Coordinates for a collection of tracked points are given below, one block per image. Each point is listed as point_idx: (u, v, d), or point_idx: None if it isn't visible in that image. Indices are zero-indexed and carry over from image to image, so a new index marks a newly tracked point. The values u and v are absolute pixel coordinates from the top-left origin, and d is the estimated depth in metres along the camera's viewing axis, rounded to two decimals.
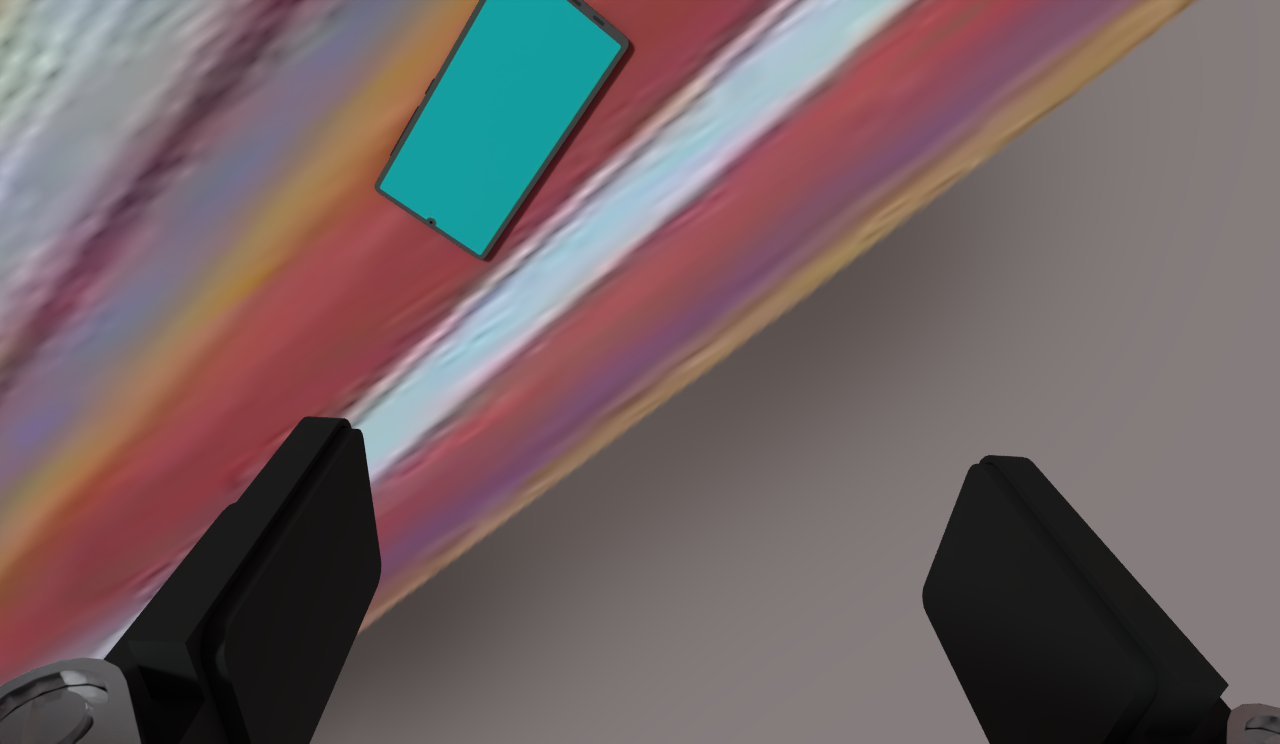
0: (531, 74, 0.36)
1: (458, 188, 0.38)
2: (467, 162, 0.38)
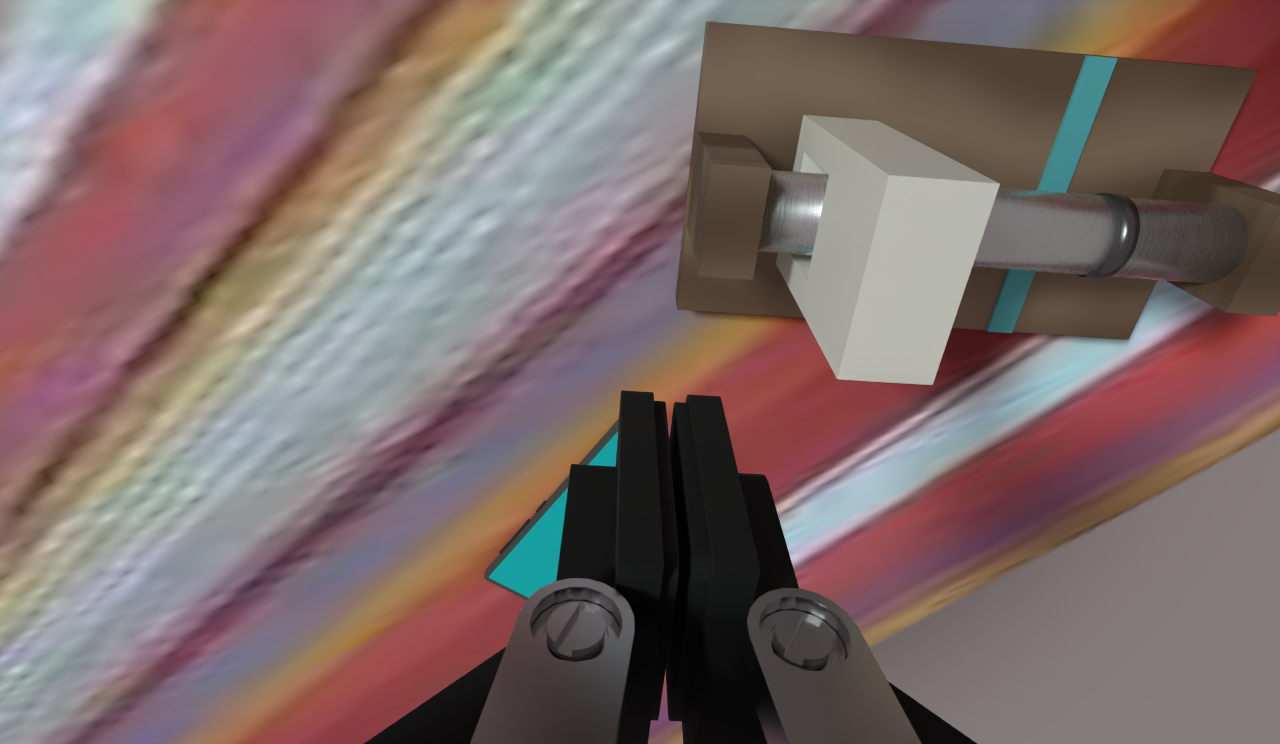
0: None
1: None
2: None
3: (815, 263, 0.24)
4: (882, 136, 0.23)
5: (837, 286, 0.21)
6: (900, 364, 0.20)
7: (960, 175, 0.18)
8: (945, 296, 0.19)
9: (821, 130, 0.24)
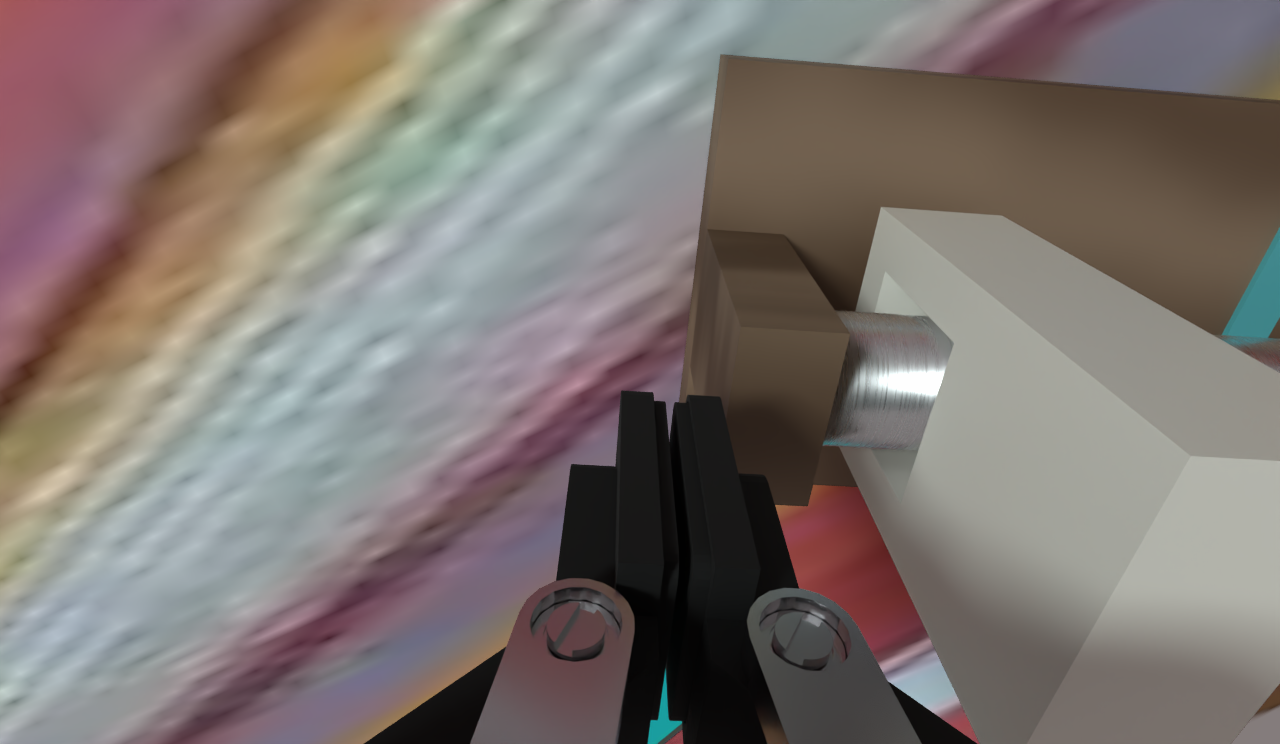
0: None
1: None
2: None
3: (922, 488, 0.13)
4: (1044, 266, 0.13)
5: (992, 587, 0.11)
6: None
7: None
8: (1257, 665, 0.09)
9: (928, 250, 0.14)
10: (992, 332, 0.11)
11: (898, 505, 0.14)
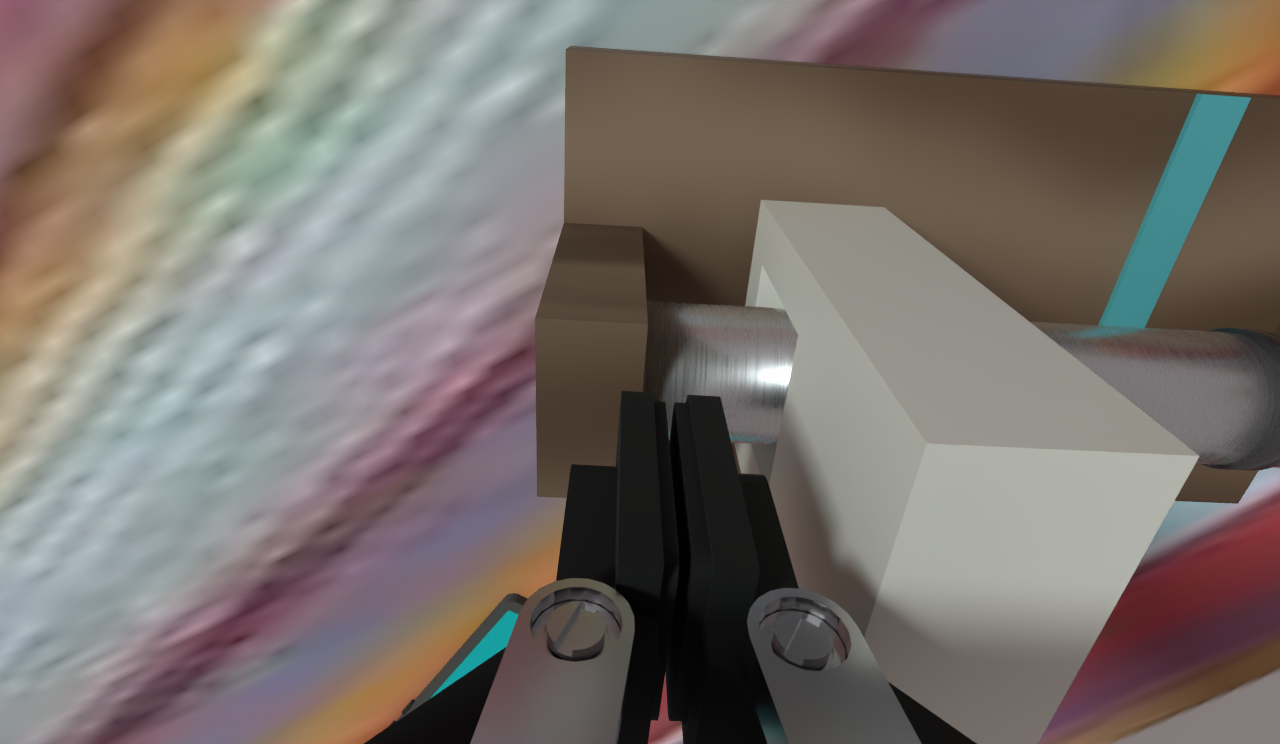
0: None
1: None
2: None
3: (777, 482, 0.13)
4: (896, 257, 0.13)
5: (814, 581, 0.11)
6: None
7: (1091, 418, 0.08)
8: (1048, 659, 0.09)
9: (786, 242, 0.13)
10: (819, 323, 0.11)
11: None
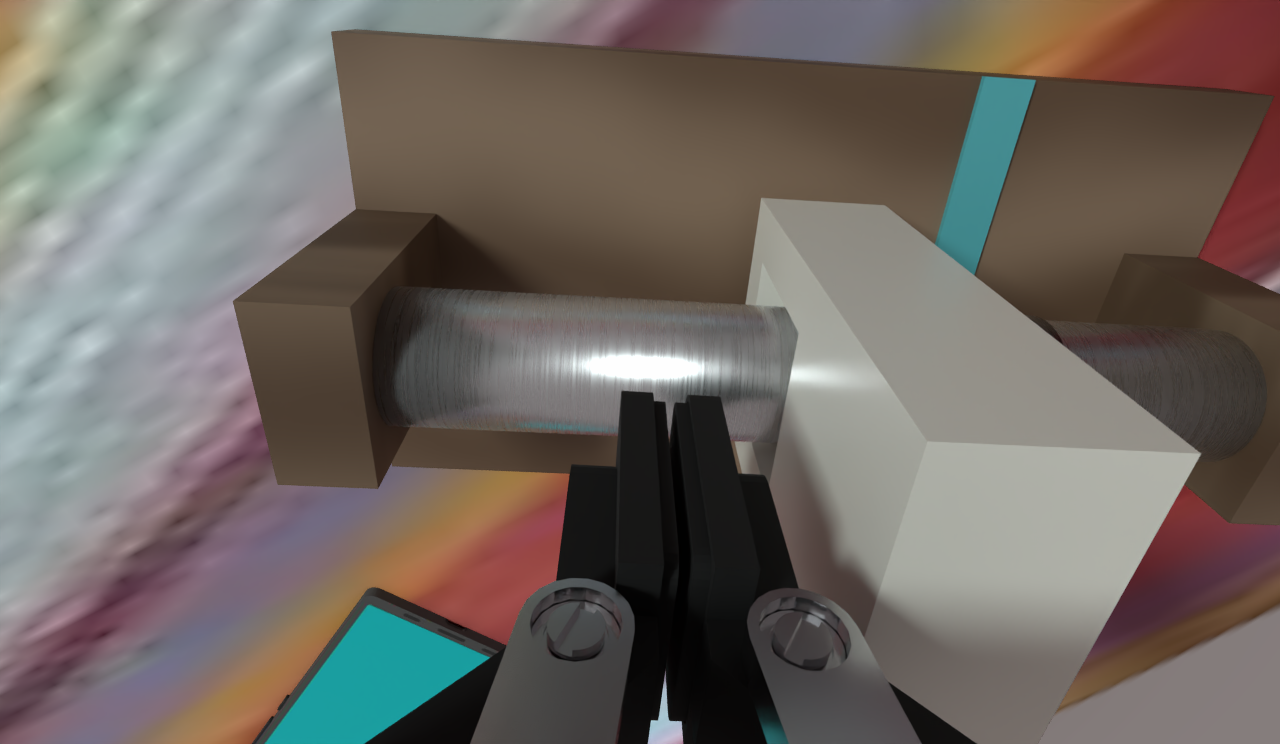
0: (409, 696, 0.28)
1: None
2: None
3: (779, 481, 0.13)
4: (896, 255, 0.13)
5: (815, 579, 0.11)
6: None
7: (1092, 416, 0.08)
8: (1049, 657, 0.09)
9: (786, 240, 0.13)
10: (820, 321, 0.11)
11: None
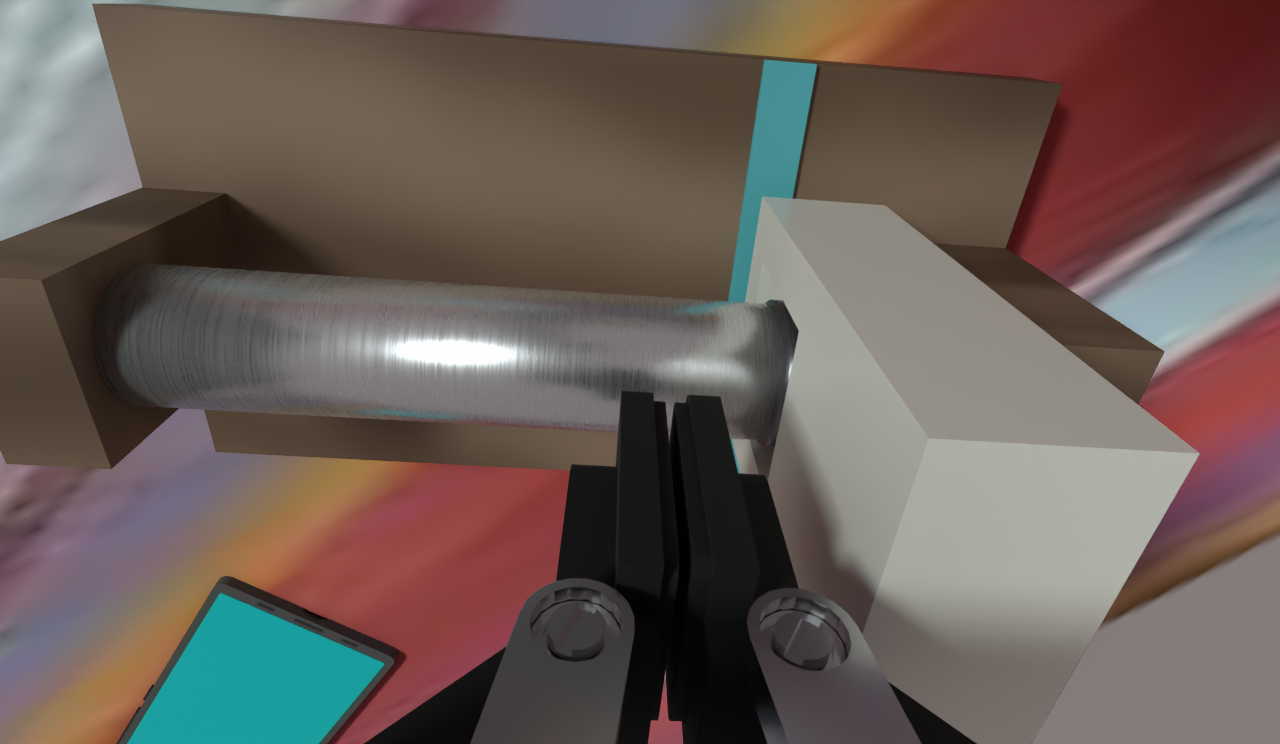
0: (273, 687, 0.27)
1: None
2: None
3: (777, 479, 0.13)
4: (897, 254, 0.13)
5: (813, 576, 0.11)
6: None
7: (1091, 415, 0.08)
8: (1046, 654, 0.09)
9: (787, 238, 0.13)
10: (820, 319, 0.11)
11: None
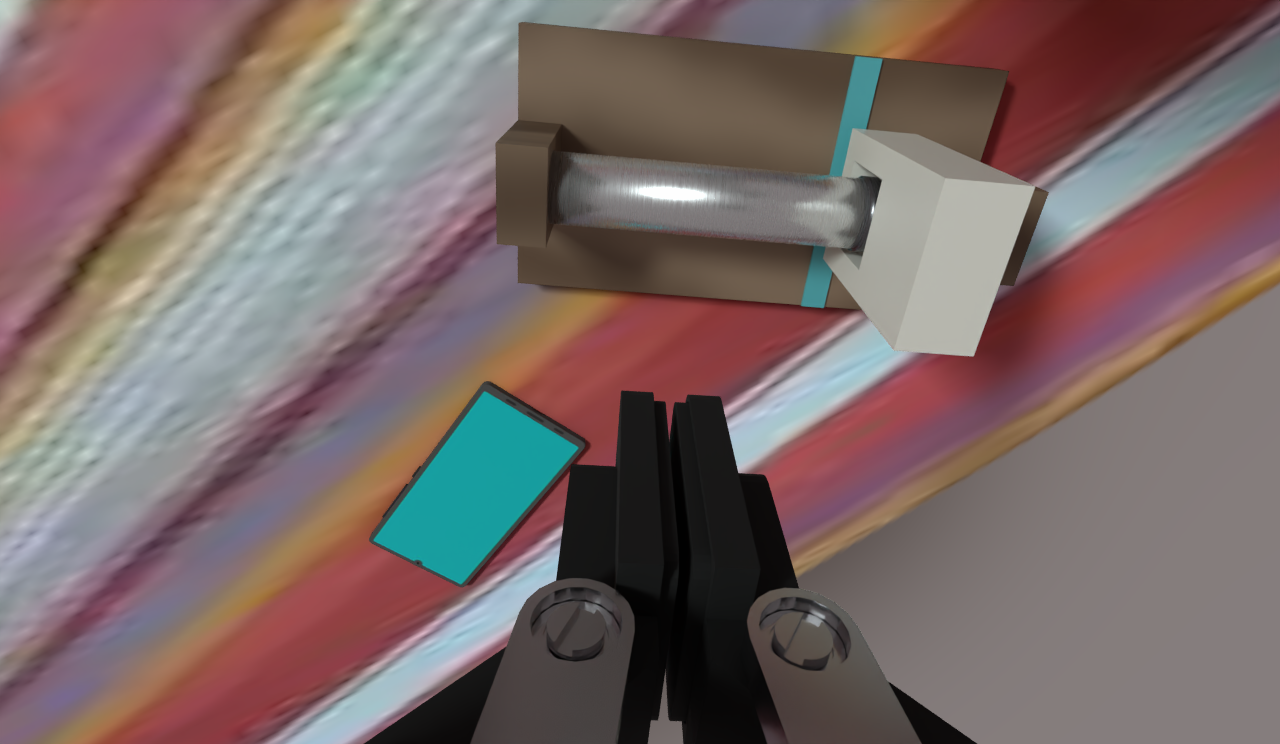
0: (502, 466, 0.42)
1: (441, 540, 0.45)
2: (448, 523, 0.44)
3: (868, 255, 0.28)
4: (926, 147, 0.27)
5: (893, 273, 0.25)
6: (947, 338, 0.24)
7: (1001, 179, 0.22)
8: (987, 280, 0.23)
9: (873, 141, 0.28)
10: (895, 167, 0.26)
11: (858, 271, 0.29)
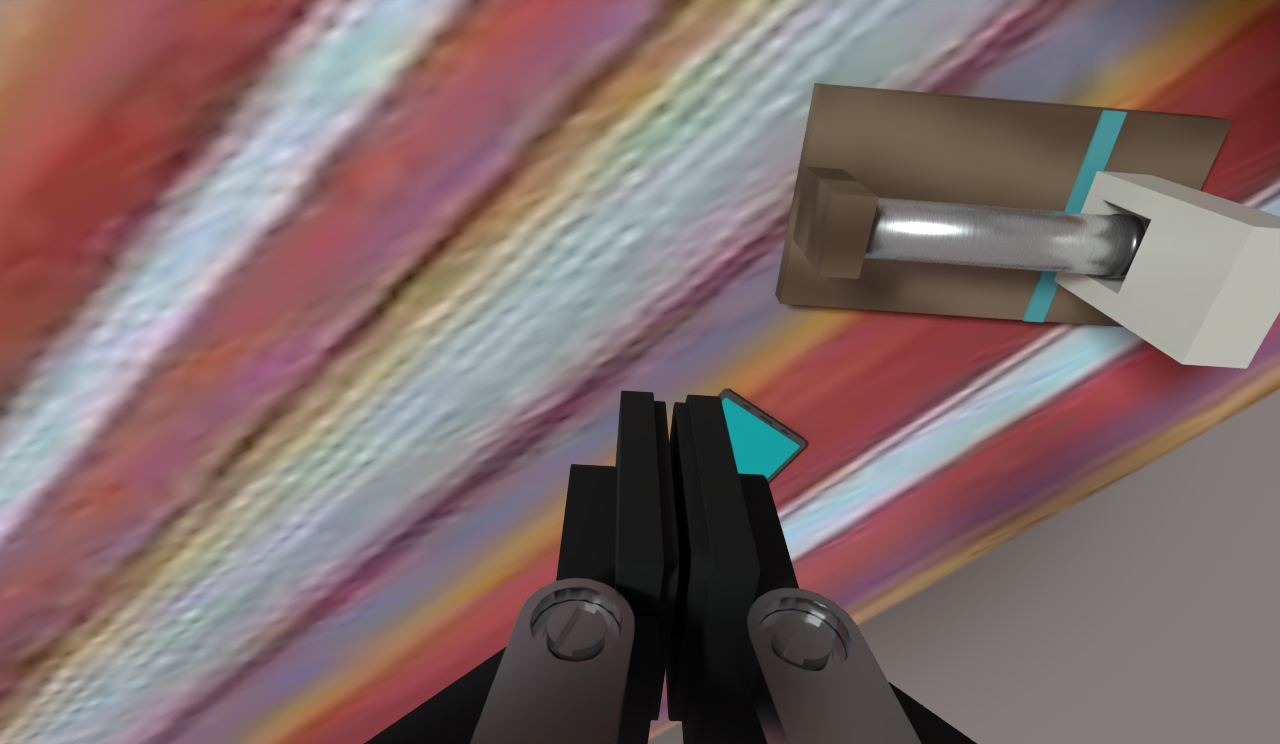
0: None
1: None
2: None
3: (1132, 282, 0.33)
4: (1184, 191, 0.32)
5: (1175, 299, 0.30)
6: (1228, 353, 0.29)
7: None
8: (1270, 306, 0.28)
9: (1133, 185, 0.33)
10: (1173, 210, 0.31)
11: (1116, 295, 0.34)
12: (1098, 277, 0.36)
